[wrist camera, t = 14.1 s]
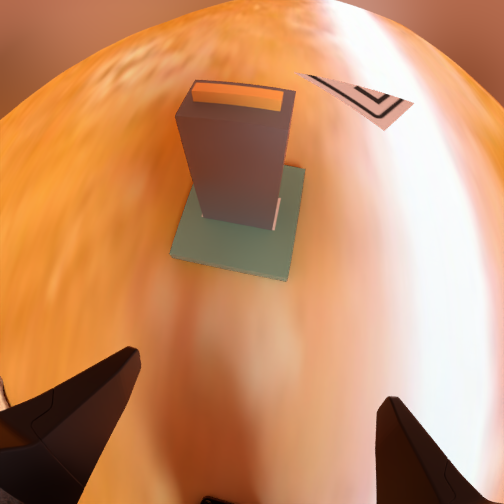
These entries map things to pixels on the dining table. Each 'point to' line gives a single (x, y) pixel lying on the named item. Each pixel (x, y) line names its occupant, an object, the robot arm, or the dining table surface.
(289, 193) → the board
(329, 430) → the dining table surface
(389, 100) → the sign
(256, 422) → the dining table surface
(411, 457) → the robot arm
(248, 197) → the block
